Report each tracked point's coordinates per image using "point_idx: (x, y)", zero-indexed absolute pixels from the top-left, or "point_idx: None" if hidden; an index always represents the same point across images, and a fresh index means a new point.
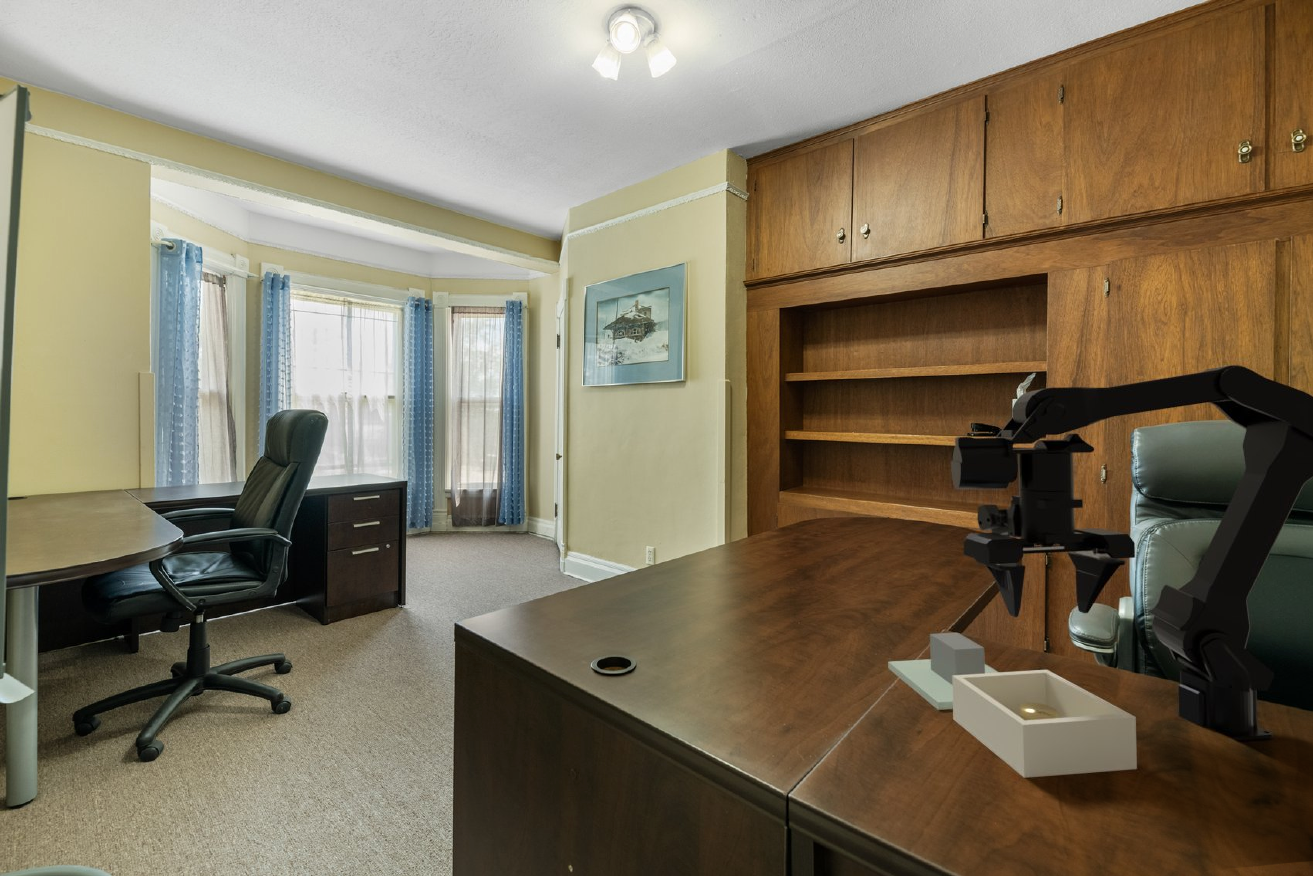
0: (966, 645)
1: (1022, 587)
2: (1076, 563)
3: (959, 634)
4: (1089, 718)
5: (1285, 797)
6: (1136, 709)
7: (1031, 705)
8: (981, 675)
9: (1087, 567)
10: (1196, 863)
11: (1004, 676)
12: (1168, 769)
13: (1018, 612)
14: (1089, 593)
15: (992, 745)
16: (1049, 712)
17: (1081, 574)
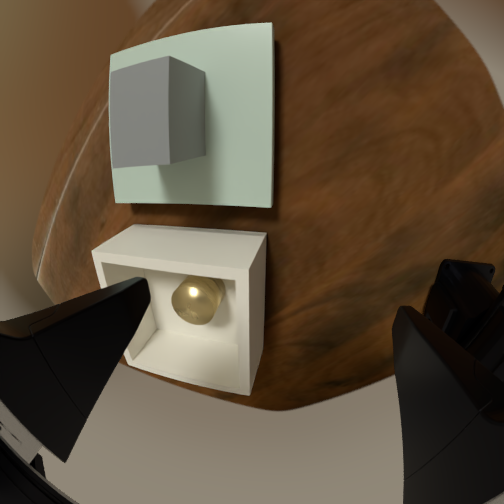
0: (142, 145)
1: (97, 396)
2: (489, 447)
3: (166, 68)
4: (196, 382)
5: (360, 383)
6: (427, 231)
7: (189, 295)
8: (125, 261)
9: (443, 477)
10: (219, 398)
11: (159, 269)
12: (310, 344)
13: (142, 314)
14: (404, 398)
15: None
16: (201, 316)
17: (450, 425)
